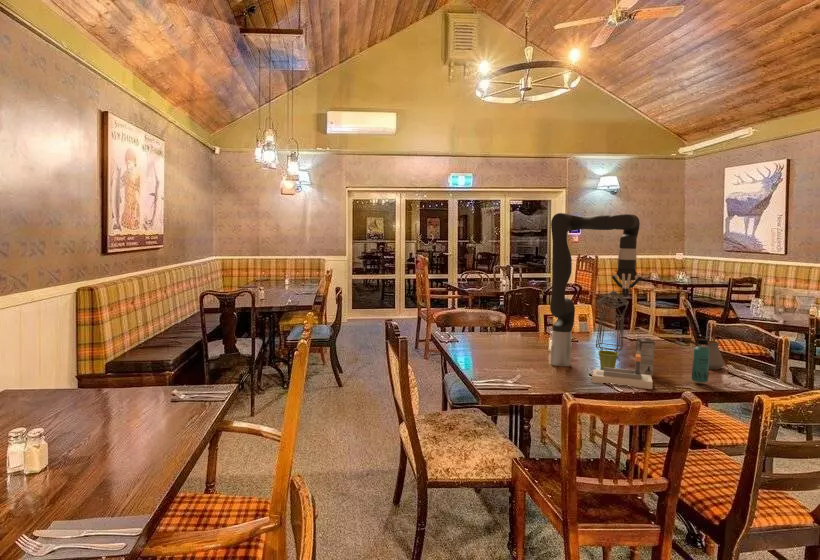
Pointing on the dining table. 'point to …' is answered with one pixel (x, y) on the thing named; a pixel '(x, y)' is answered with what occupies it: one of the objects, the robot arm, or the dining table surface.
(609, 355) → the plant pot
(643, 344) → the coffee box
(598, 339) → the geometric lantern
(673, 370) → the dining table surface
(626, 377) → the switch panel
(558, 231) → the robot arm
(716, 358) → the coffee pot
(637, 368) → the handle
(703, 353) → the beverage bottle
